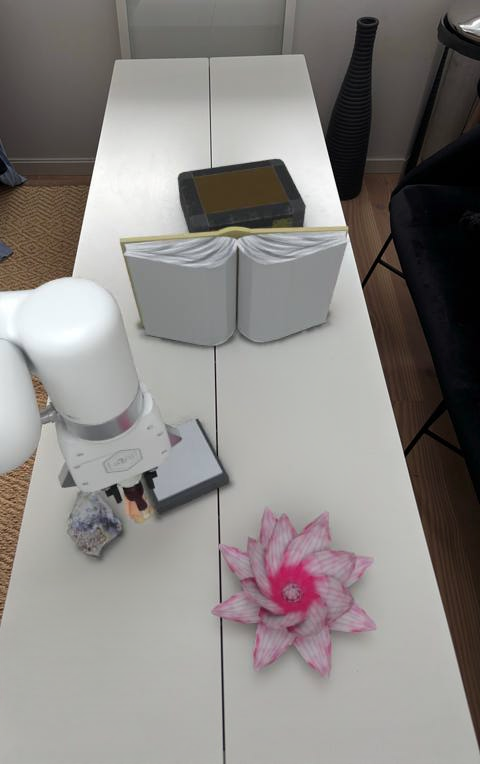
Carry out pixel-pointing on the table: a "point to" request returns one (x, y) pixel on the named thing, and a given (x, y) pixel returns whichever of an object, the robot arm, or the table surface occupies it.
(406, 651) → the table surface
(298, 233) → the book
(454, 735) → the table surface
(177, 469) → the scale
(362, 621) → the decorative flower
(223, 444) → the table surface
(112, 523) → the mineral specimen
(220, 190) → the cash box
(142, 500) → the grandmother figurine
